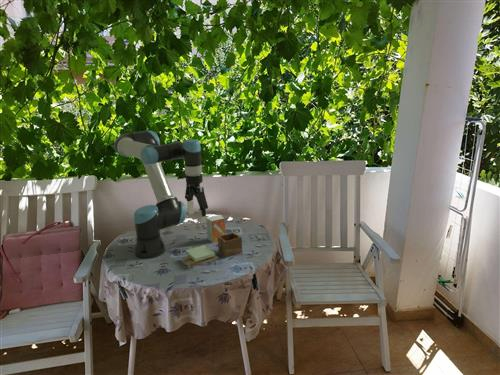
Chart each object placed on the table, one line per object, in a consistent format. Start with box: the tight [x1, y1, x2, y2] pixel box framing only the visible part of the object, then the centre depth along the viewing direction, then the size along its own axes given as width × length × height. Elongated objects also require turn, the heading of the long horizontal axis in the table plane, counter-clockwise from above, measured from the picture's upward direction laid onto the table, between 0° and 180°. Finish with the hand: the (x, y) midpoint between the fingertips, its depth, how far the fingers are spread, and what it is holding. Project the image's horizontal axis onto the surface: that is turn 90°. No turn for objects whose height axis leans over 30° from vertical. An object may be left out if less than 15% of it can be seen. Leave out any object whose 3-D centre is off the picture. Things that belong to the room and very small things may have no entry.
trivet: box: [182, 254, 219, 269], centre depth 187 cm, size 10×14×2 cm
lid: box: [185, 244, 216, 262], centre depth 186 cm, size 11×10×3 cm
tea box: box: [217, 232, 243, 258], centre depth 191 cm, size 8×9×9 cm
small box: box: [206, 214, 227, 244], centre depth 207 cm, size 8×6×13 cm
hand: (197, 218), depth 181 cm, fingers open, 13 cm apart
